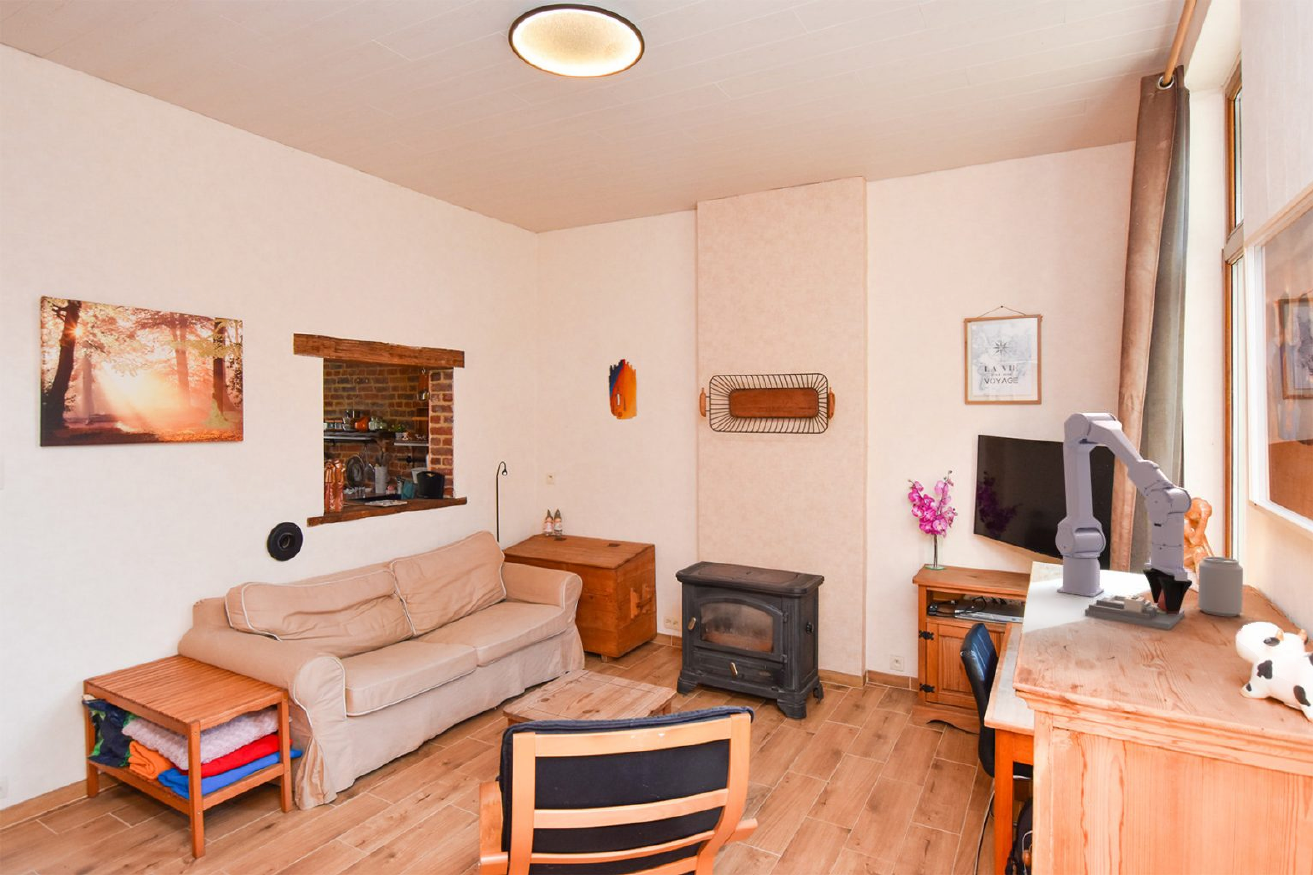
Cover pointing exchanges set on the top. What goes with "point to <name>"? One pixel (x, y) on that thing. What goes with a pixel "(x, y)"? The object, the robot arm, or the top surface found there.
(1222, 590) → the can
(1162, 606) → the red rounded cube
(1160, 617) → the panel
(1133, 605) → the breaker
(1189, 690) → the top surface
